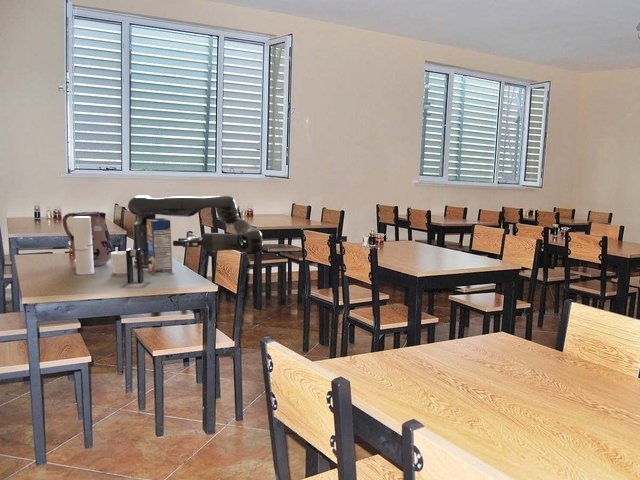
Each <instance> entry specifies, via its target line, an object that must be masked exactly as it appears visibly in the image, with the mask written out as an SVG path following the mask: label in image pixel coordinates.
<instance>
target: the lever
mask: <svg viewBox="0 0 640 480" xmlns="http://www.w3.org/2000/svg"><path fill="white" fill-rule="evenodd" d="M130 256H131V257H132V258H134V261H133V265H135V264H137V260H135V258H137V257H136V250H134V249H132V250H131V251H130ZM143 264H152V260H143Z"/></svg>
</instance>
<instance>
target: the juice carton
mask: <svg viewBox="0 0 640 480" xmlns="http://www.w3.org/2000/svg"><path fill="white" fill-rule="evenodd" d="M146 222H147V244H148V260H152V264H148V265H149V267H148V272H153V273H154V274H157V273H158V274H159V273H170V272H171V273H172V272H173V254H172V253H173V251H172V229H171V220H170V219H167V218H165V217H162V218H161V217H160V218H159V217H158V218H157V217H156V219H146Z"/></svg>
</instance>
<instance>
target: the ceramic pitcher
mask: <svg viewBox="0 0 640 480" xmlns="http://www.w3.org/2000/svg"><path fill="white" fill-rule="evenodd" d="M106 215H107V213H106V212H103V211H102V212H100V211H83V212H82V211H81V212H67V213H66V214H65V215H64V216H63V218H62V227H63V229H64V231H65V234H66V235H67V237H68V238H69V240H70V248H71V251H72V256H73V258H74V259H75V245H74V235H73V234H72V232H71V231H70V228H69V226H68V222H67V220H68V218H70V217H72V218H73V217H78V216H89V217H91V229H92V245H93V262H94V267H100V266H103V265H106V264H107V263H108V262H110V260H111V253H112V252H114V244H113V241H112V238H111V237H112V236H111V235H110V231H109V228H108V225H107V221H106Z"/></svg>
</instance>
